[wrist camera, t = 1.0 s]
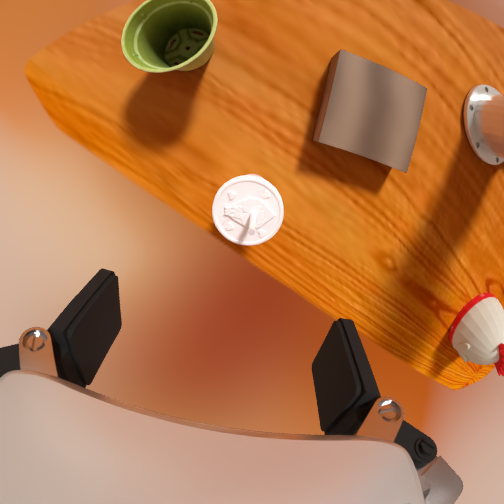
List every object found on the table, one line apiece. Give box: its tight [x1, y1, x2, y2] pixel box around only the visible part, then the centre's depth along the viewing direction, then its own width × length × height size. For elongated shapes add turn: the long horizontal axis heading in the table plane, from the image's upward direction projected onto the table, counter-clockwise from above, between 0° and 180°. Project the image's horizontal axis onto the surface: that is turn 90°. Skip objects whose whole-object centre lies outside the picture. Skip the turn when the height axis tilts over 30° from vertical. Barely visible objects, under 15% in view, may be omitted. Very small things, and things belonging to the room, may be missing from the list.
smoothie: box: [212, 174, 283, 246], centre depth 26 cm, size 6×6×14 cm
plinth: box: [312, 50, 427, 173], centre depth 26 cm, size 11×11×4 cm
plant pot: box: [121, 0, 218, 73], centre depth 21 cm, size 9×9×9 cm
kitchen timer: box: [449, 293, 504, 376], centre depth 34 cm, size 14×14×15 cm
